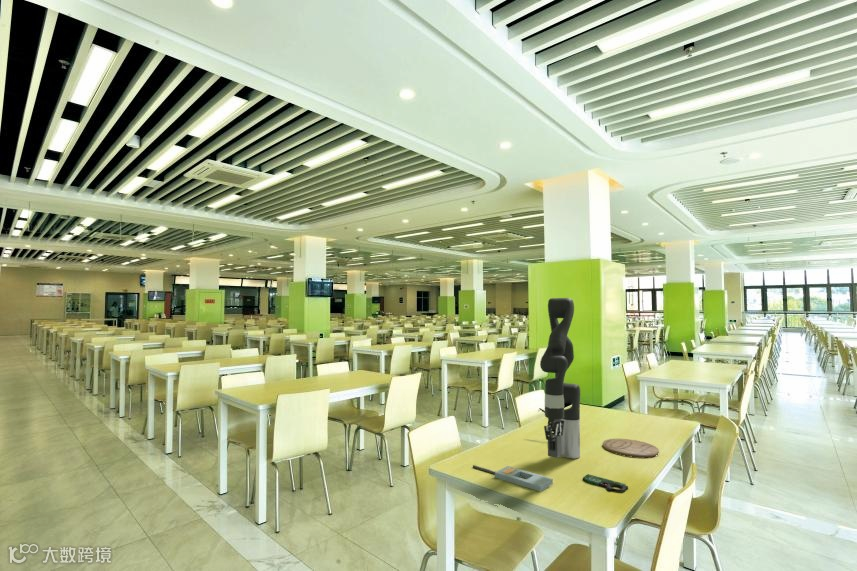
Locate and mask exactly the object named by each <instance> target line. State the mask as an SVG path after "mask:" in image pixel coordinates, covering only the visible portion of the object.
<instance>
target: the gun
mask: <svg viewBox="0 0 857 571" xmlns="http://www.w3.org/2000/svg"><path fill="white" fill-rule="evenodd" d="M582 481H584V483H586V484H589V485H593V486H598V487H601V488H603V489H605V490H606V491H607V492H610V493H611V492H613V493H614V492H615V493H619V494H623V493H625V492H627V491H628V490H629V486H628V485H626V483H623V482H618V481H616V480H611V479H608V478H604V477H600V476H597V475H593V474H589V473H588V474H586V475H584V476H583V477H582Z"/></svg>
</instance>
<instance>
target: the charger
mask: <svg viewBox="0 0 857 571" xmlns="http://www.w3.org/2000/svg"><path fill="white" fill-rule="evenodd" d="M547 456H548V457H551V458H556V459H558V458H560V457H562V435H558V434H557V435H556V436H555V450H554V451H552V450H550V449H549V440H547Z"/></svg>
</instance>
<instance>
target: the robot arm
mask: <svg viewBox="0 0 857 571" xmlns="http://www.w3.org/2000/svg"><path fill="white" fill-rule="evenodd" d="M547 312H548V317H549V318H548V319H549V325H550V330H551V331H550V335H549V337H548V341H547V342H548V343H547V347H546V349H545V351H544V353H543V355H542V356H541V358H540V363H539V365H540V369H541V370H542V372H544V373H549V374H550V373H551V374H554V377H552V378H546V380H545V382H544V388H545V389H544V391H545V392H544V393H545V394H544V411H545V413H544V416H545V418H547V419H548V420H547V425H544V426H543V429H544V435H545V439H546V440H547V441H548V440H549V449H550V450H552V451H554V450H555V436H556V435H557V434H558V435H562V456H561V457H562V458H566V459H578V458H580V457H581V424H580V418H581V416H580V414H581V413H580V412H581V411H580V408H581V406H580V404H581V388H580V385H579V384H578V383H577V384H576V383H568V382H564V381H565V377H566V373H567V371H568V370H569V368H570V366H571V365H572V363H573V362H574V358H575V354H574V353H575V352H574V344H573V342H572V341H571V339H570V337H569V336H568V334H569V330H570V327H571V325H572V321H573V317H574V314H575V304H574V301H573V299H572V298H570V297H554V298H553V297H552V298H549V299H548V301H547ZM559 319H562V320H561V321H560V323H559ZM565 404H570V405H571V406H570V407H569V408H566V409H565Z"/></svg>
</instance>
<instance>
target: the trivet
mask: <svg viewBox="0 0 857 571" xmlns="http://www.w3.org/2000/svg"><path fill="white" fill-rule="evenodd" d="M602 448H603V449H604V448H605V449H604V450H606V451H607V450H608V452H609V451H610V453H612V452H613V454H615V453H617V454H616V455H618V454H621V455H620V456H622V455H625V456H624V457H627V456H632V457H631V458H635V457H644V458H643V459H648V457H652V458H654V457H653V456H656V455H658V453H659V454H660V450H659V448H658V447H657V446H655V445H653V444H651V443H647V442H645V441H640V440H635V439H630V438H629V439H627V438H609V439H606V440H603V442H602ZM658 456H659V455H658ZM656 457H657V456H656Z"/></svg>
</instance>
